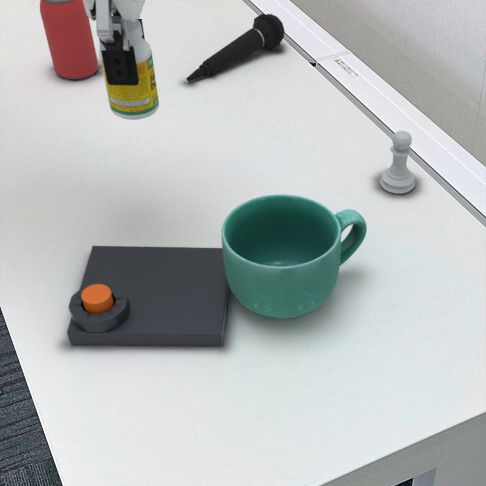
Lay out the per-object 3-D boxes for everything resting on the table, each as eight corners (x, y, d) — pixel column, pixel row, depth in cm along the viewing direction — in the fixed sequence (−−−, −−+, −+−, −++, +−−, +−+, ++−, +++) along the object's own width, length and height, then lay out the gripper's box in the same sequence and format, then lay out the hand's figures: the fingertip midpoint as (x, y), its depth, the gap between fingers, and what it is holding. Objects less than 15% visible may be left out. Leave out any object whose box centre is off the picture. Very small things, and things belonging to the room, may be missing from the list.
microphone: (199, 104, 121) (289, 48, 129) (200, 77, 116) (293, 20, 124) (175, 82, 122) (266, 28, 130) (175, 54, 116) (269, 0, 125)
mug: (246, 345, 83) (242, 280, 76) (213, 272, 90) (206, 206, 83) (386, 308, 88) (394, 243, 81) (343, 241, 95) (347, 177, 88)
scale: (70, 344, 82) (63, 321, 79) (95, 257, 91) (89, 234, 88) (222, 346, 82) (220, 323, 80) (231, 260, 92) (230, 237, 89)
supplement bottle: (107, 100, 87) (90, 15, 80) (154, 93, 88) (141, 9, 81) (115, 124, 84) (98, 38, 77) (164, 117, 85) (152, 32, 78)
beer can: (77, 85, 117) (59, 6, 108) (46, 72, 119) (25, -6, 110) (108, 68, 121) (93, -10, 112) (77, 56, 123) (60, -21, 114)
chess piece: (420, 182, 104) (428, 130, 99) (403, 199, 102) (409, 146, 96) (391, 170, 106) (396, 118, 100) (373, 186, 103) (377, 133, 97)
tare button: (81, 314, 80) (78, 303, 79) (87, 294, 82) (84, 283, 81) (110, 314, 80) (108, 303, 79) (115, 294, 82) (113, 284, 81)
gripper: (123, -85, 64) (153, 112, 77) (149, -148, 75) (172, 33, 89) (30, -89, 63) (77, 111, 77) (70, -151, 75) (105, 31, 88)
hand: (127, 67), depth 82 cm, fingers closed on supplement bottle, 5 cm apart
